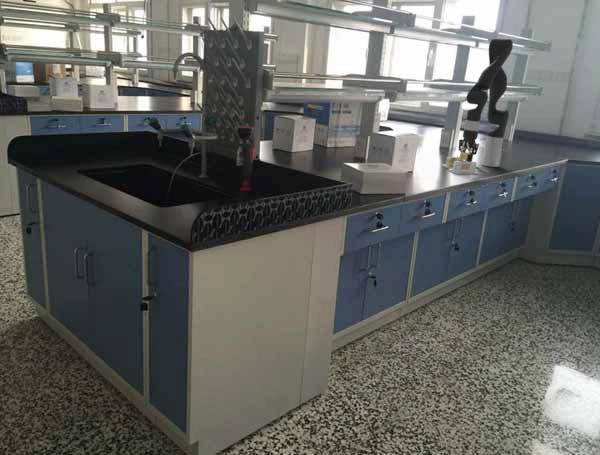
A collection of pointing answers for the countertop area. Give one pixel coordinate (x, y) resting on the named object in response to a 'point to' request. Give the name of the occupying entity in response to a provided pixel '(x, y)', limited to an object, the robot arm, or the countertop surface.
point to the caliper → (477, 167)
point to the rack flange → (464, 167)
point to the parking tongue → (450, 162)
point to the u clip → (464, 156)
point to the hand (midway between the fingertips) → (465, 160)
